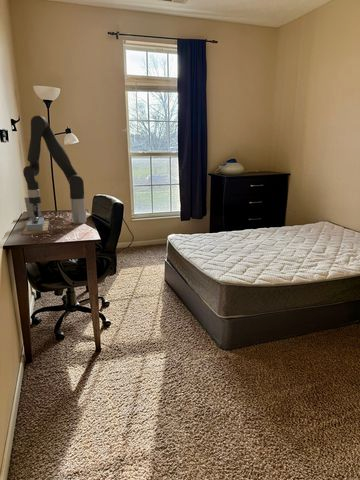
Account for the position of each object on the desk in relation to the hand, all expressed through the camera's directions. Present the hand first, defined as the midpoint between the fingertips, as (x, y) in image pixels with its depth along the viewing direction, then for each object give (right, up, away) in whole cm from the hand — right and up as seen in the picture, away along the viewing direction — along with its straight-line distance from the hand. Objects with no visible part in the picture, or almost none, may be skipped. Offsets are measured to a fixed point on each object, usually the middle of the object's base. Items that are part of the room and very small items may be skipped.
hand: (37, 221), depth 222 cm
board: (+4, -5, -9) cm, 11 cm away
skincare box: (-13, +4, +24) cm, 27 cm away
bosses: (+4, -4, -10) cm, 12 cm away
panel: (+4, -4, -11) cm, 13 cm away
